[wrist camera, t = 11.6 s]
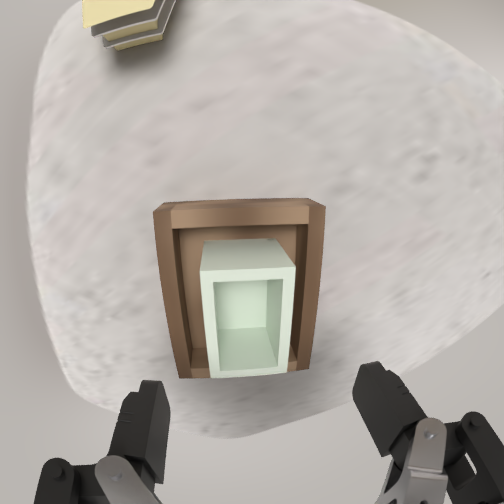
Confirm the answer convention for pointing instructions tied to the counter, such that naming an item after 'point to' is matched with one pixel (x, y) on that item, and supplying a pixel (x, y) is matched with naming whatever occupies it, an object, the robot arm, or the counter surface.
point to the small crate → (247, 306)
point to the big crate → (232, 228)
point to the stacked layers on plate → (126, 20)
